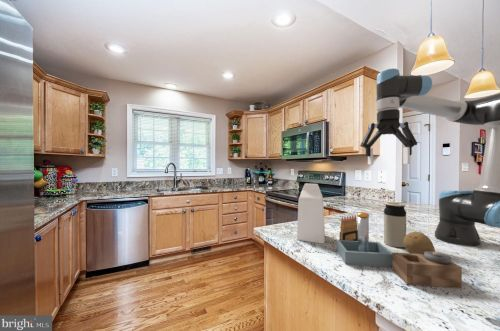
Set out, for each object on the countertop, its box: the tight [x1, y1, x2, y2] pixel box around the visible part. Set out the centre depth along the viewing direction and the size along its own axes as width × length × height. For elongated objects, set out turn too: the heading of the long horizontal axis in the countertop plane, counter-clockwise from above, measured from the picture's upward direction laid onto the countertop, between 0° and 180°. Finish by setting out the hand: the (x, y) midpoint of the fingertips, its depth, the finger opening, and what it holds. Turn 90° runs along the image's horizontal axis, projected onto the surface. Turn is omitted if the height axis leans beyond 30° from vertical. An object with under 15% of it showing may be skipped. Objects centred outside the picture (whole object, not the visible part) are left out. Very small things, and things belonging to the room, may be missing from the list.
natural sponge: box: [403, 231, 436, 254], centre depth 77 cm, size 9×9×10 cm
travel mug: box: [383, 201, 407, 249], centre depth 91 cm, size 8×8×18 cm
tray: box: [335, 239, 393, 268], centre depth 78 cm, size 16×12×4 cm
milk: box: [296, 183, 326, 244], centre depth 101 cm, size 12×12×26 cm
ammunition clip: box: [339, 214, 358, 241], centre depth 94 cm, size 11×2×12 cm, turn 118°
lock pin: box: [356, 211, 370, 252], centre depth 78 cm, size 4×4×16 cm
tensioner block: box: [391, 251, 463, 289], centre depth 63 cm, size 14×8×8 cm, turn 81°
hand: (388, 164), depth 83 cm, fingers open, 13 cm apart
